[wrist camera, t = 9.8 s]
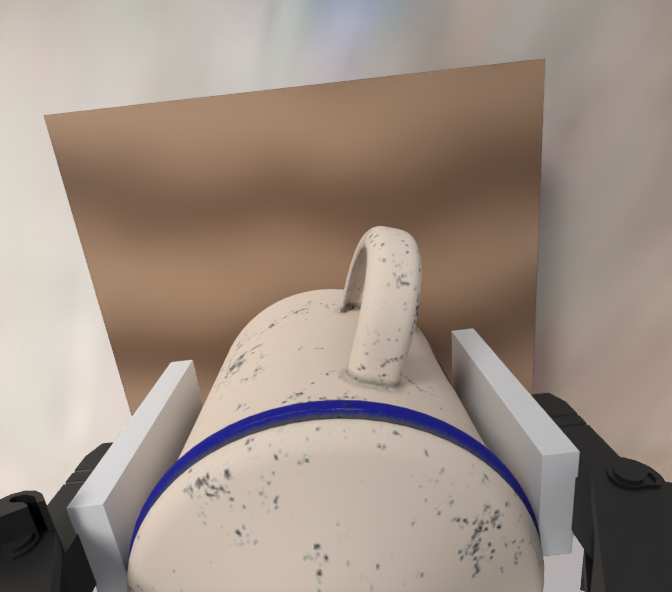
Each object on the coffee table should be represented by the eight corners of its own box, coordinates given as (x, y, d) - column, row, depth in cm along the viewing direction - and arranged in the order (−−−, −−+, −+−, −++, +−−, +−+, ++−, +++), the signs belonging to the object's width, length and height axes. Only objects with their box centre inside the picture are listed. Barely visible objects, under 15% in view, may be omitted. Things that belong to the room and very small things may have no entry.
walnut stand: (117, 125, 21) (43, 115, 16) (484, 84, 21) (545, 58, 16) (201, 463, 27) (169, 544, 22) (485, 432, 27) (527, 505, 22)
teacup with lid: (410, 491, 20) (525, 937, 8) (206, 461, 19) (37, 910, 8) (493, 229, 16) (882, 406, 5) (243, 178, 15) (25, 251, 4)
